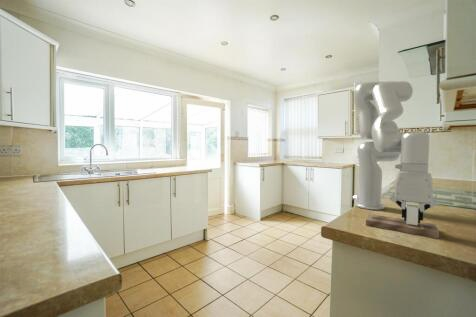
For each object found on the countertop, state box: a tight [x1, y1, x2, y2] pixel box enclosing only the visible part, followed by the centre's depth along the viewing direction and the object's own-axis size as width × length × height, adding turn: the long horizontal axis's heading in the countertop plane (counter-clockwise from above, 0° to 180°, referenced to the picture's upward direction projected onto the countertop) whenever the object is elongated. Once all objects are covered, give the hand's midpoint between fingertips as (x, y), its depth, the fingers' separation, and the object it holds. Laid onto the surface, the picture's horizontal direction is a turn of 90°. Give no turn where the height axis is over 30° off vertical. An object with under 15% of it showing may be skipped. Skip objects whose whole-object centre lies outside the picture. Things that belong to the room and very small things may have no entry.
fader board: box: [365, 213, 440, 239], centre depth 79 cm, size 20×9×2 cm, turn 53°
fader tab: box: [406, 203, 419, 226], centre depth 76 cm, size 3×5×6 cm, turn 143°
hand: (411, 220), depth 77 cm, fingers closed on fader tab, 3 cm apart
